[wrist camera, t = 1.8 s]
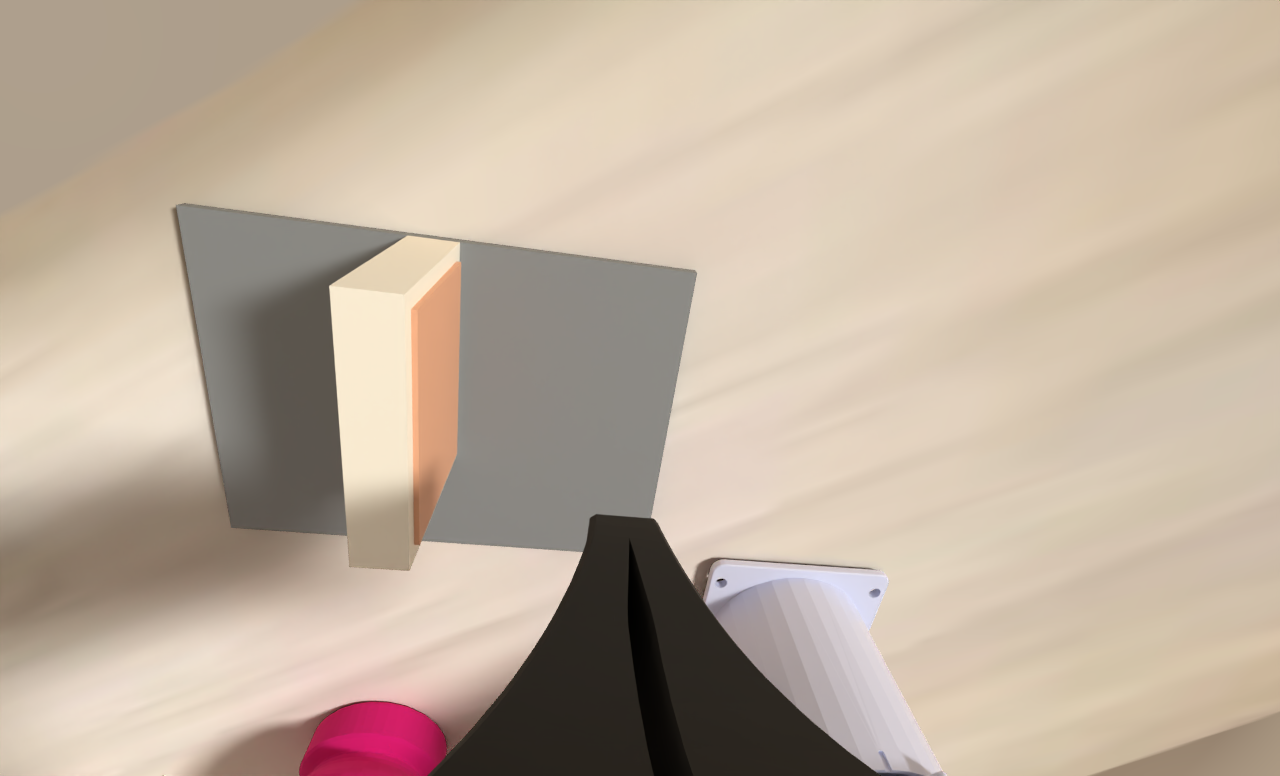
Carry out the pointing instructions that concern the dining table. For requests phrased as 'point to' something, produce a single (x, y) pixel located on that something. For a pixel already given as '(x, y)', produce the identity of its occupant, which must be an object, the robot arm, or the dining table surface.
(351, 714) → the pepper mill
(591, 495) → the mat
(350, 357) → the block
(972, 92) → the dining table surface
